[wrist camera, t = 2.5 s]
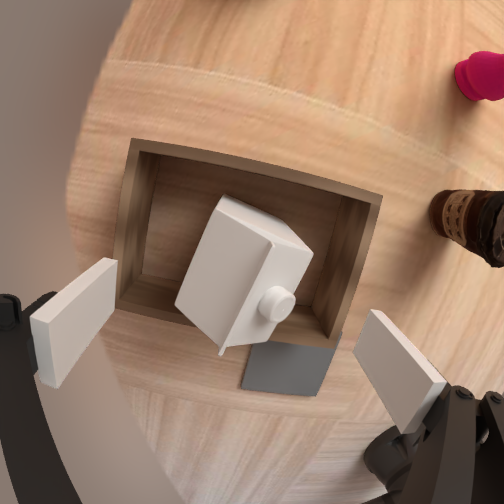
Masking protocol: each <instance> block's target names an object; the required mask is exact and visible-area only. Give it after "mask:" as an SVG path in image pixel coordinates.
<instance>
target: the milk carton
mask: <svg viewBox="0 0 504 504" xmlns="http://www.w3.org/2000/svg"><path fill="white" fill-rule="evenodd" d="M313 254H314V253H313V252H312V251H311V250H310V249H309V247H308V246H307V245H306V244H305V243H304V242H303V241H302V240H301V239H300V238H299V237H298V236H297V235H296V234H295V233H294V232H293V231H292V230H291V229H290V228H289V227H288V225H287V224H286V223H285V222H284V221H283V220H282V219H280V218H278V217H275V216H273V215H271V214H269V213H267V212H265V211H262V210H260V209H258V208H256V207H254V206H251V205H249V204H247V203H245V202H243V201H240V200H238V199H236V198H234V197H231V196H229V195H227V194H223V195H222V197H221V199H220V200H219V202H218V204H217V206H216V207H215V209H214V211H213V213H212V215H211V217H210V219H209V221H208V224H207V226H206V228H205V231H204V233H203V235H202V238H201V240H200V242H199V245H198V247H197V249H196V252H195V254H194V256H193V259H192V261H191V264H190V266H189V268H188V271H187V273H186V276H185V278H184V281H183V283H182V286H181V288H180V291H179V293H178V296H177V298H176V301H175V306H176V307H177V308H178V309H179V310H180V311H181V312H182V313H183V314H184V315H185V316H186V317H187V318H188V319H190V320H191V321H192V322H193V323H194V324H195V325H196V326H197V327H198V328H199V329H200V330H201V331H202V332H203V333H205V334H206V335H207V336H208V337H209V338H210V339H211V340H212V341H213V342H214V343H216V344H217V345H218V346H219V349H218V356H222V355H223V353H224V351H225V349H226V347H229V346H237V345H245V344H253V343H260V342H266V341H267V340H268V339H269V337H270V335H271V334H272V332H273V330H274V329H275V327H276V325H277V323H279V322H281V321H283V320H284V319H285V318H286V317H287V316H288V315H289V314H290V313H291V311H292V309H293V307H294V305H295V300H296V299H295V296H294V295H293V294H294V292H295V290H296V288H297V286H298V284H299V283H300V281H301V279H302V277H303V275H304V273H305V271H306V269H307V267H308V265H309V263H310V261H311V259H312V257H313Z"/></svg>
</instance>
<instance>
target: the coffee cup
mask: <svg viewBox="0 0 504 504" xmlns="http://www.w3.org/2000/svg"><path fill="white" fill-rule="evenodd" d="M430 222H431V225H432V228H433V230H434V231H435V232H436V234H437V235H438V236H443V237H446V238H450V239H452V240H453V241H455V242H457V243H458V244H459V245H461V246H462V247H464V248H466V249H467V250H469V251H470V252H473V253H475V254H477V255H479V256H481V257H482V258H484V259H485V261H486V262H487V263H488V264H490V265H491V267H498V268H500V267H504V191H487V190H485V191H483V190H444V191H441V192H440V193H438V194H437V195H436V196H435V198H434V199H433V201H432V204H431V207H430Z"/></svg>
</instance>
